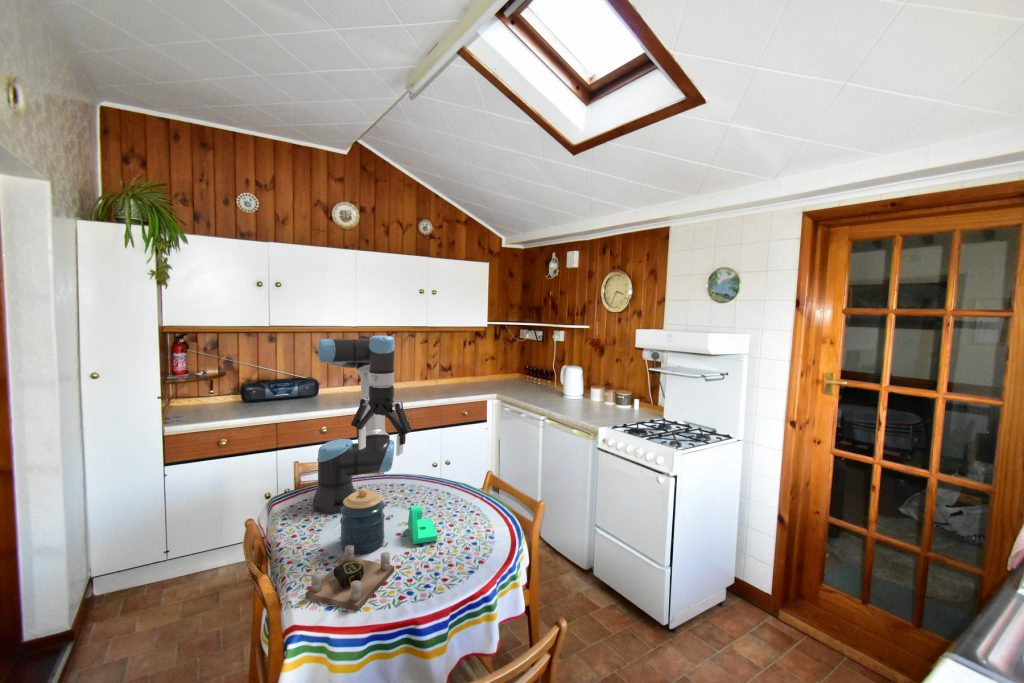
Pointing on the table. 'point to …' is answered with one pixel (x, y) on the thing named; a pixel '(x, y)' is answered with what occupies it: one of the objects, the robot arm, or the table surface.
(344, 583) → the tape measure
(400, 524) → the table surface
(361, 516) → the canister
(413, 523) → the camera mount
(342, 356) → the robot arm
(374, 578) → the pin board
